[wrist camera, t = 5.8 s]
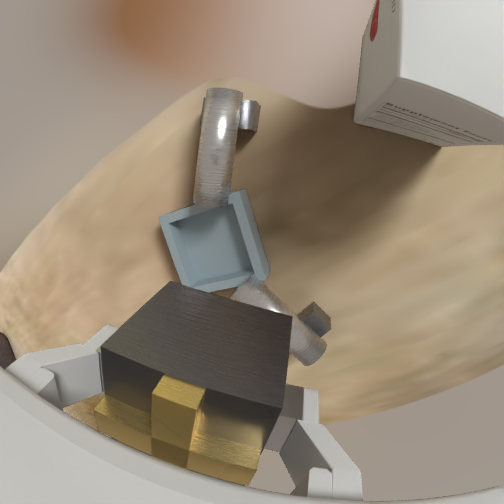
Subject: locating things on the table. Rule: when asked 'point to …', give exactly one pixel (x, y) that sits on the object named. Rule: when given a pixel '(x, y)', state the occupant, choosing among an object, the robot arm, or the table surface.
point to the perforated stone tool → (5, 352)
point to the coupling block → (196, 381)
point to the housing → (215, 244)
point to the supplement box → (434, 71)
